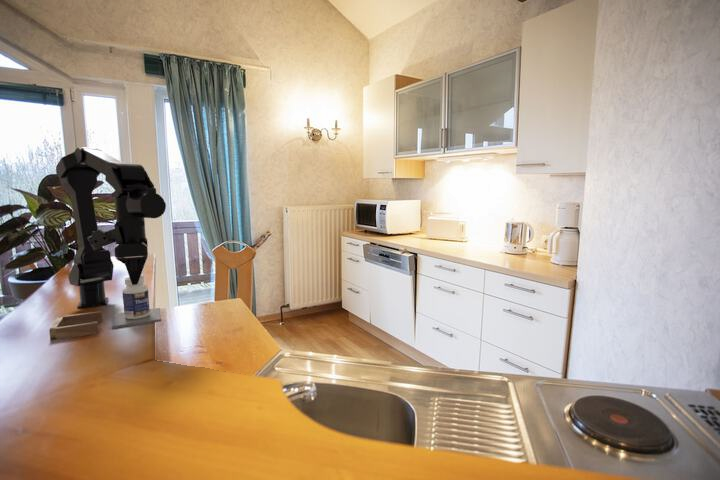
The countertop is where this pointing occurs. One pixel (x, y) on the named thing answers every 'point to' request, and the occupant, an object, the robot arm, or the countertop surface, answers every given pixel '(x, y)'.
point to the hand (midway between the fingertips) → (135, 280)
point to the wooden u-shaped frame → (75, 325)
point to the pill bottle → (135, 299)
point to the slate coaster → (124, 322)
